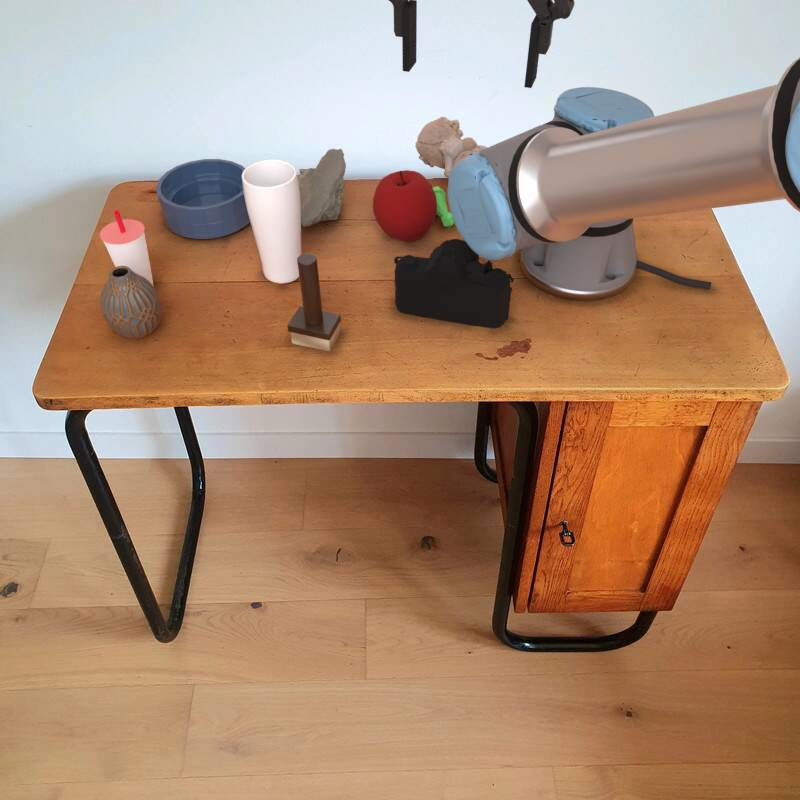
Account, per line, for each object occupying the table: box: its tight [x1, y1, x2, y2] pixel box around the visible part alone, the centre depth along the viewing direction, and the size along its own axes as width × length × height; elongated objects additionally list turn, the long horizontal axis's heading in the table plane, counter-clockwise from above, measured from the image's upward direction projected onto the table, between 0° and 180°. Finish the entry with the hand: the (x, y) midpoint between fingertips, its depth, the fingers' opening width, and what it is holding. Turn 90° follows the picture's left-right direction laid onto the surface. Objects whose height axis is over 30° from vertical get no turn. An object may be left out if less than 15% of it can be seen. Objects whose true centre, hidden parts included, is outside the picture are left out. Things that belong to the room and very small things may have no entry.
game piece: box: [432, 186, 455, 228], centre depth 111 cm, size 4×4×6 cm
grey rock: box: [297, 148, 347, 228], centre depth 111 cm, size 14×10×10 cm
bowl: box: [155, 158, 250, 240], centre depth 112 cm, size 13×13×6 cm
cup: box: [99, 209, 154, 286], centre depth 98 cm, size 5×5×12 cm
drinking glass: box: [242, 159, 303, 285], centre depth 99 cm, size 7×7×15 cm
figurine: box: [415, 116, 489, 180], centre depth 116 cm, size 9×8×20 cm
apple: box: [372, 169, 437, 242], centre depth 106 cm, size 9×9×10 cm
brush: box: [287, 252, 342, 353], centre depth 91 cm, size 5×4×12 cm
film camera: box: [393, 238, 515, 329], centre depth 97 cm, size 15×10×9 cm, turn 74°
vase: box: [100, 266, 163, 339], centre depth 94 cm, size 7×7×9 cm
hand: (468, 74), depth 85 cm, fingers open, 13 cm apart
